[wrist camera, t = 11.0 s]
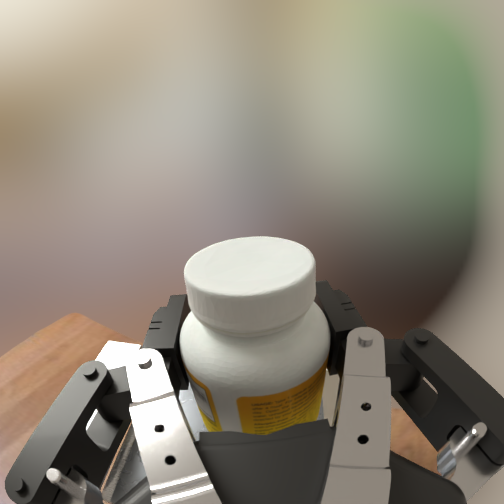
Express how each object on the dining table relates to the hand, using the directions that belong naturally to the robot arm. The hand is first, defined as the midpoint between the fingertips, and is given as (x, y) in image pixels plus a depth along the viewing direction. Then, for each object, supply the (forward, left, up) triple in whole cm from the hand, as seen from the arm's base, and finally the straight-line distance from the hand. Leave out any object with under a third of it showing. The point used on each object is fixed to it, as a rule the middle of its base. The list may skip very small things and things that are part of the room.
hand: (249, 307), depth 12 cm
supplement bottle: (0, -3, -6) cm, 7 cm away
